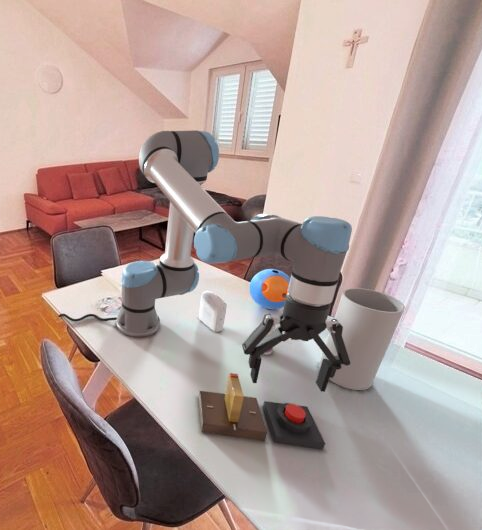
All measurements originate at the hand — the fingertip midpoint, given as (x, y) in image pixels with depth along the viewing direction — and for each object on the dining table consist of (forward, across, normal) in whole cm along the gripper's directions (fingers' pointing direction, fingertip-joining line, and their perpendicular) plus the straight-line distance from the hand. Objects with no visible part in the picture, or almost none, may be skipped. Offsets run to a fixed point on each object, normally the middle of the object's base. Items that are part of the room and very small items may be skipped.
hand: (286, 383), depth 69 cm
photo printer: (+13, +11, -42) cm, 45 cm away
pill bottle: (+13, -4, -30) cm, 33 cm away
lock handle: (+11, +10, -1) cm, 15 cm away
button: (+10, -4, -1) cm, 11 cm away
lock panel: (+14, +10, -1) cm, 17 cm away
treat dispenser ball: (+13, -13, -59) cm, 62 cm away
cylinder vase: (+14, -24, -22) cm, 36 cm away
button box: (+14, -4, -1) cm, 14 cm away
